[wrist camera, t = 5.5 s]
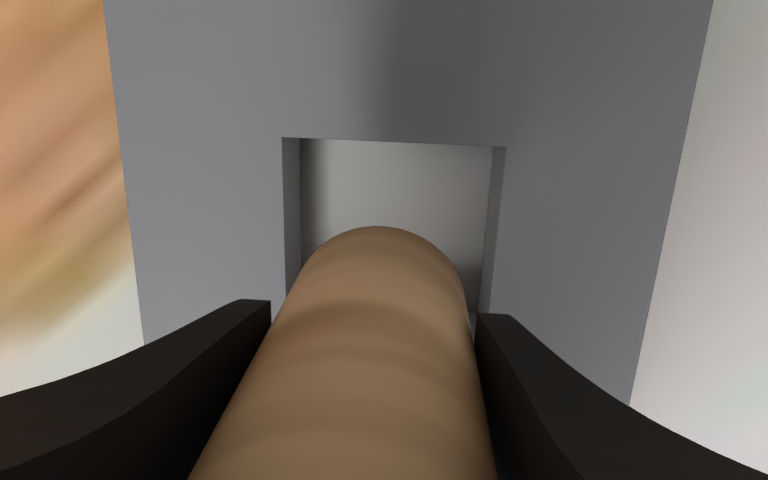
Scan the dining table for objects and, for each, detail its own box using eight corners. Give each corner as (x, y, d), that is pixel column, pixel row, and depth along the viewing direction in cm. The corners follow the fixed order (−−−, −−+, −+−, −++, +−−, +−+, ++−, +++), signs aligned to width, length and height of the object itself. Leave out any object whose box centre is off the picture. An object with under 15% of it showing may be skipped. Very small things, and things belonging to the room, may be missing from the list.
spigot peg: (452, 391, 13) (494, 830, 6) (290, 372, 14) (124, 777, 6) (478, 237, 12) (574, 543, 5) (298, 216, 12) (101, 481, 5)
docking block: (591, 432, 21) (613, 480, 19) (184, 405, 22) (156, 447, 20) (676, -25, 16) (721, -38, 14) (141, -40, 17) (95, -55, 14)
